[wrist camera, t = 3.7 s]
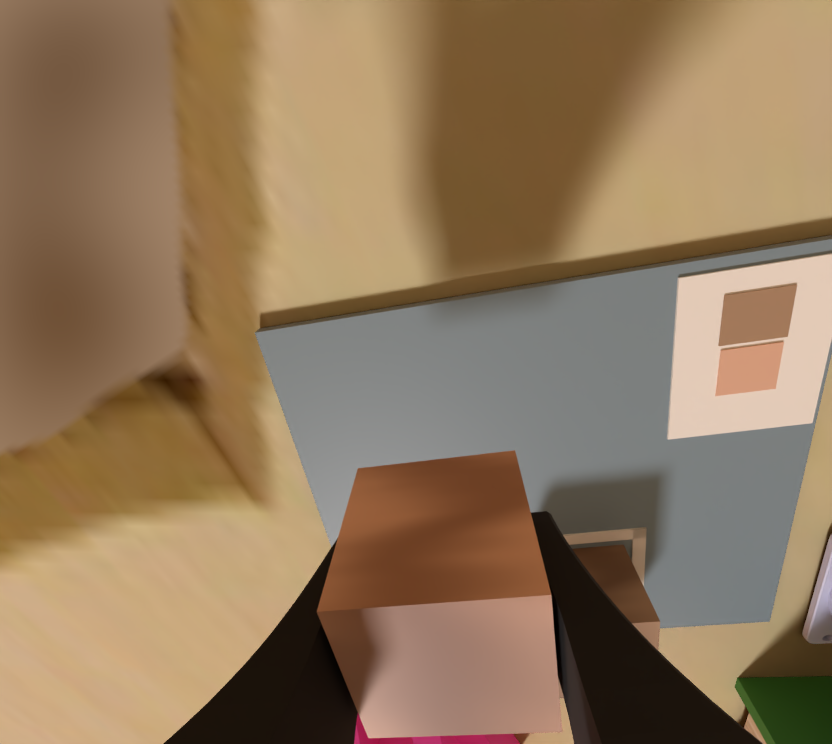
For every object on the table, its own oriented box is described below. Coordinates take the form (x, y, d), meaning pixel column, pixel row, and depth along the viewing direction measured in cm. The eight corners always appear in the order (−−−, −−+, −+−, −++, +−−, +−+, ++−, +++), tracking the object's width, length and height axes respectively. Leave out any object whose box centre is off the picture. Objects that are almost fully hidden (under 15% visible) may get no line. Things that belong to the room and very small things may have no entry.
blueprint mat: (846, 232, 15) (862, 235, 15) (763, 612, 23) (771, 624, 23) (259, 328, 18) (253, 334, 17) (368, 638, 26) (366, 649, 26)
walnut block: (623, 544, 21) (660, 621, 18) (622, 612, 23) (654, 693, 20) (520, 553, 22) (535, 629, 18) (527, 618, 24) (542, 698, 20)
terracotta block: (515, 450, 12) (551, 594, 8) (527, 566, 14) (561, 732, 10) (357, 468, 13) (316, 612, 9) (389, 577, 14) (368, 737, 10)
